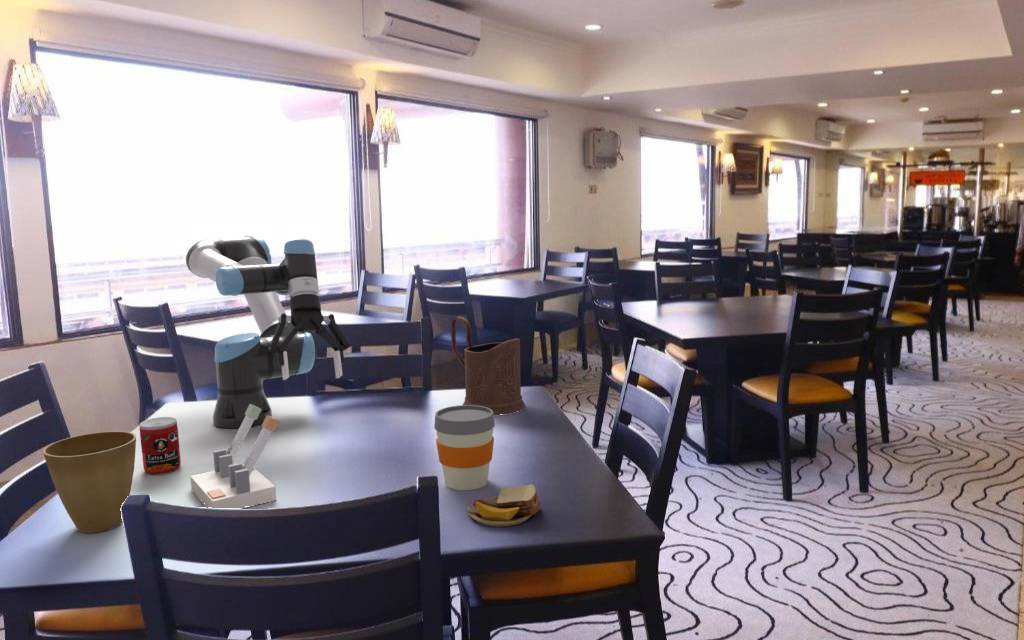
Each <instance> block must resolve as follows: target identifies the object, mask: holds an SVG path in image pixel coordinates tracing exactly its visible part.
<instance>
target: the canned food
mask: <svg viewBox="0 0 1024 640" xmlns="http://www.w3.org/2000/svg"><path fill="white" fill-rule="evenodd" d="M139 436H140V439H139V440H140V446H141V447H140V448H141V454H142V455H141V456H142V465H143V470H144V472H145V473H146V474H147V475H151V476H152V475H155V476H157V475H164V474H170V473H173V472H175V471H177V470H178V469H179V468H180V467H181V463H182V462H181V461H182V460H181V450H180V441H179V440H180V439H179V438H180V437H179V429H178V420H177V418H175V417H172V416H160V417H154V418H153V417H152V418H148V419H145V420H143V421H142V422H140V423H139Z"/></svg>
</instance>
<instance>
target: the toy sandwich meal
mask: <svg viewBox="0 0 1024 640" xmlns="http://www.w3.org/2000/svg"><path fill="white" fill-rule="evenodd" d="M536 488H537V487H536V486H535V485H534V484H530V483H529V484H527V485H520V486H518V485H517V486H511V487H503V488H500V491H499V493H498V495H497V496H487V497H484V498H481V499H476V500H474V501H473V502H472V503H471V504H469V505H467V512H468V515H469V516H470V517H471V519H473V520H474V521H475V520H476V522H477V523H478V524H481V523H482V525H485V524H486V525H485V526H489V525H491V527H509V526H510V527H511V526H515V525H519V524H522V523H524V522H526V521H527V520H528V519H529V518H530V517H532V516H533V515H535V514H537V513H538V512H539V510H540V508H541V500H540V497H539V495H538V493H537V492H538V491H537V489H536Z"/></svg>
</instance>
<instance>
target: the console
mask: <svg viewBox="0 0 1024 640" xmlns="http://www.w3.org/2000/svg"><path fill="white" fill-rule="evenodd" d="M226 453H227V450H226V448H222V449H218V450H213V451H212V454H213V466H214V470H212V471H207V472H203V473H197V474H192V475H190V487H191V491H192V490H193V491H192V492H193V493H194V495H195V496H196V495H197V496H198V497H199V498H200V499H201V500H202V501H201V500H200V499H199V498H198V497H197V496H196V497H197V498H198V499H199V500H200V501H201V503H202V502H203V503H205V505H206V506H207V507H212V508H245V506H252V505H256V504H261V505H264V504H263V503H265V504H267V503H266V502H269V503H272V502H271V501H273V502H275V501H274V500H276V501H277V491H276V485H274V484H273V482H271V481H270V480H269V479H267V477H266V476H264V475H263V474H262V473H261V472H259V471H258V470H257V469H256V468H255V467H254V468H253V470H252V472H251V474H250V476H249V470H248V469H243V470H241V469H242V467H243V465H244V463H241V462H239V463H238V462H236V463H234V461H232V455H231V454H228V455H226ZM235 483H236V484H235ZM203 503H202V504H203ZM205 505H204V506H205ZM206 506H205V507H206ZM207 507H206V508H207ZM245 509H246V508H245Z"/></svg>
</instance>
